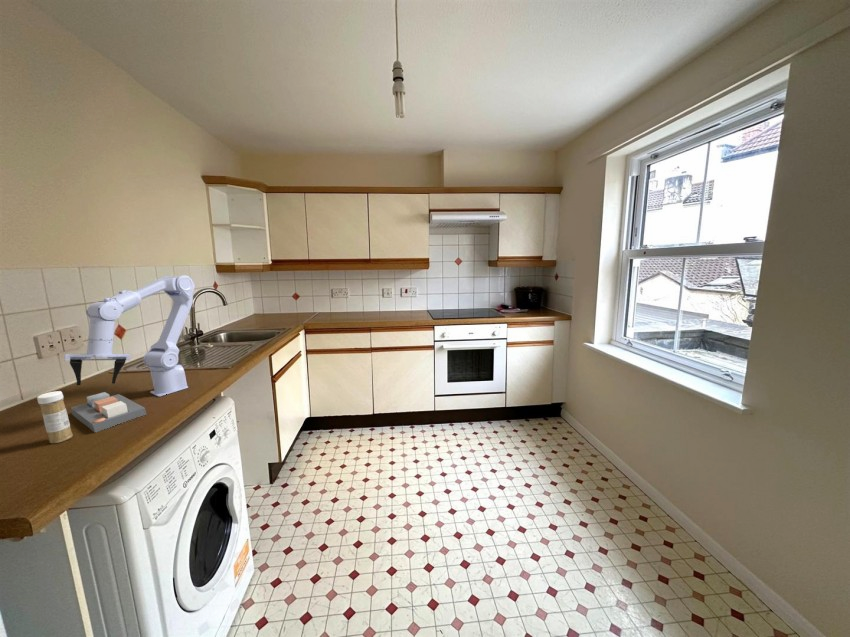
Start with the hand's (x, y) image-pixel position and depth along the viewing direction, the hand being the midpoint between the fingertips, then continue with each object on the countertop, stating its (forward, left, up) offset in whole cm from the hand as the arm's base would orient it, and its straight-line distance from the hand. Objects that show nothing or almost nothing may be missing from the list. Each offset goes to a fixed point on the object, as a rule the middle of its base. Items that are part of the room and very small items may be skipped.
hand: (96, 383), depth 104 cm
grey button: (-1, -7, -9) cm, 11 cm away
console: (-1, +1, -11) cm, 11 cm away
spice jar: (+11, +9, -11) cm, 18 cm away
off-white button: (-1, +8, -9) cm, 12 cm away
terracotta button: (-1, +1, -9) cm, 9 cm away
